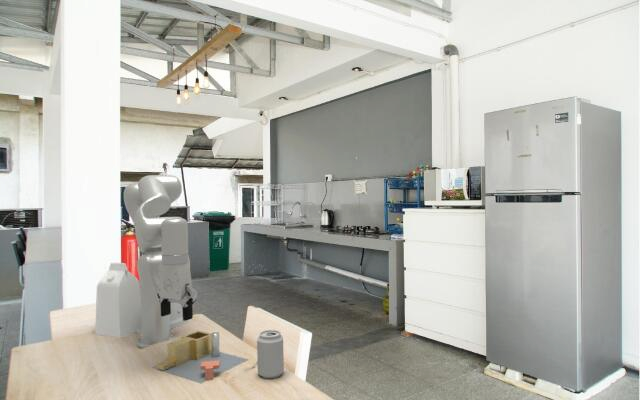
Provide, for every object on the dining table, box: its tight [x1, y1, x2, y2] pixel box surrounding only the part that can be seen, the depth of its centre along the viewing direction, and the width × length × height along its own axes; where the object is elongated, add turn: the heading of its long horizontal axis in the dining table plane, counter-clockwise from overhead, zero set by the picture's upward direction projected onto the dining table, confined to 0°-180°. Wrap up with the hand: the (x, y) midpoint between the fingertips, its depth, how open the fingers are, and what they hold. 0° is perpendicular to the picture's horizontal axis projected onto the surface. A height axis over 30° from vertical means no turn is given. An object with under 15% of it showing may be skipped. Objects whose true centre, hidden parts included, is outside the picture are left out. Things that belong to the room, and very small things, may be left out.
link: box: [156, 330, 212, 371], centre depth 133 cm, size 18×7×6 cm, turn 148°
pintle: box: [211, 331, 221, 357], centre depth 136 cm, size 2×2×8 cm
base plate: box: [152, 351, 249, 384], centre depth 130 cm, size 20×19×2 cm
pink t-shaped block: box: [200, 361, 220, 381], centre depth 122 cm, size 5×5×5 cm
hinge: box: [170, 302, 189, 330], centre depth 171 cm, size 17×5×10 cm, turn 152°
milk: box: [94, 262, 141, 339], centre depth 166 cm, size 12×12×26 cm
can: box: [256, 329, 285, 379], centre depth 126 cm, size 8×8×12 cm
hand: (176, 317), depth 130 cm, fingers open, 9 cm apart
